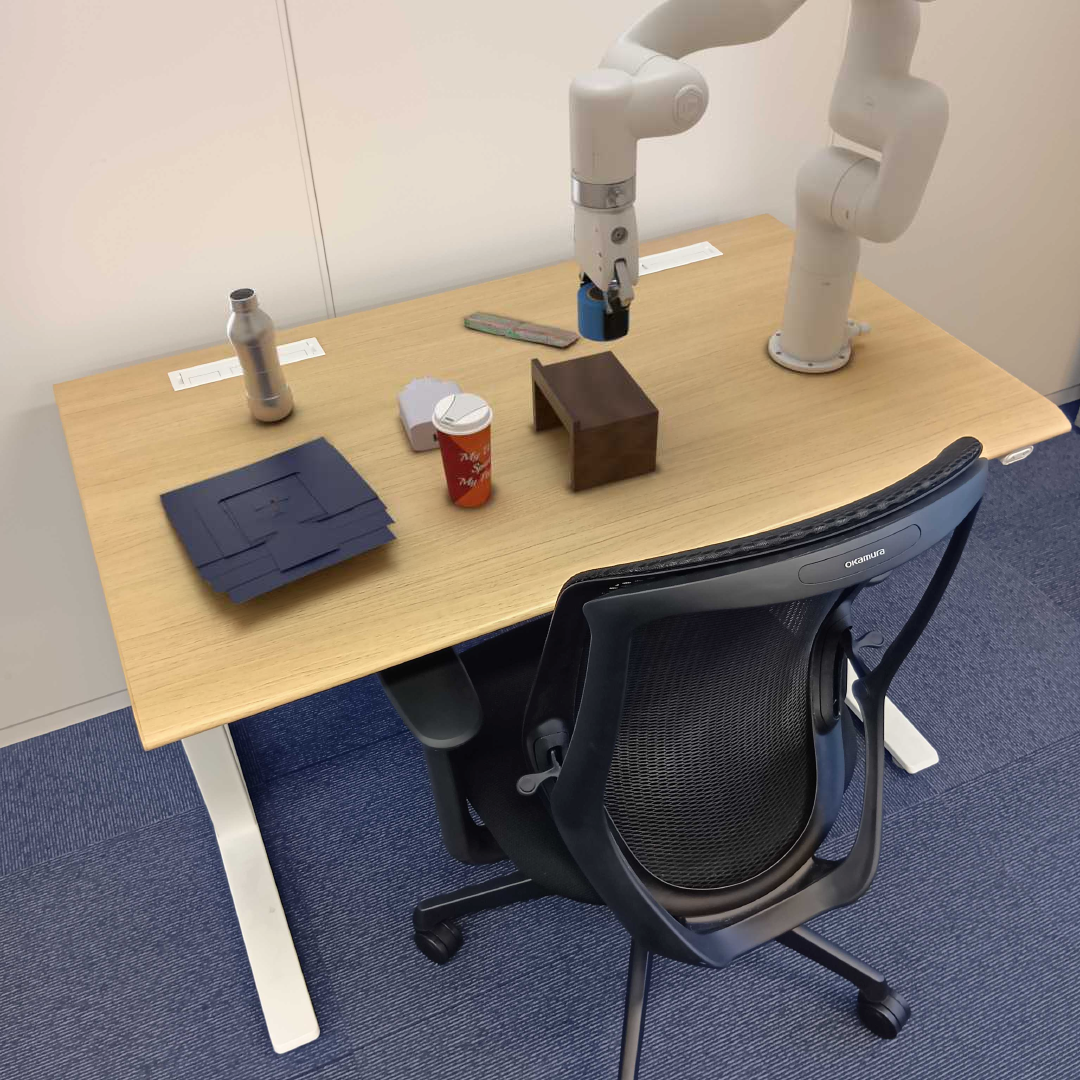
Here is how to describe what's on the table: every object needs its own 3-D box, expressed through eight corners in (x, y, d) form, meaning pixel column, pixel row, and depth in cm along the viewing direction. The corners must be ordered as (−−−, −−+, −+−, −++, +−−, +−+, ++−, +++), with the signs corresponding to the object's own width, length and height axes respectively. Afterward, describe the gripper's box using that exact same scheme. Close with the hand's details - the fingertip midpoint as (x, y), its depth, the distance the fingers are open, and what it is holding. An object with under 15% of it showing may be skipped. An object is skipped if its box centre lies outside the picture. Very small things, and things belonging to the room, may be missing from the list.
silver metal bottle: (305, 412, 147) (276, 292, 134) (267, 433, 144) (234, 311, 130) (279, 396, 151) (249, 277, 137) (242, 416, 147) (207, 296, 134)
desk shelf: (609, 408, 146) (610, 341, 138) (655, 471, 135) (659, 401, 127) (533, 427, 143) (530, 359, 135) (574, 492, 132) (573, 422, 124)
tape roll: (616, 310, 129) (617, 275, 126) (637, 335, 125) (638, 299, 121) (570, 321, 128) (569, 286, 124) (589, 346, 123) (589, 310, 120)
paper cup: (477, 519, 128) (469, 433, 119) (430, 500, 131) (418, 414, 122) (510, 486, 133) (504, 400, 124) (464, 469, 136) (455, 384, 127)
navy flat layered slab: (225, 629, 113) (216, 605, 111) (163, 512, 135) (155, 490, 133) (414, 550, 122) (409, 527, 120) (328, 452, 144) (323, 430, 142)
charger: (450, 384, 152) (476, 439, 141) (392, 396, 150) (413, 453, 139) (447, 358, 149) (473, 412, 138) (387, 370, 147) (409, 425, 136)
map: (472, 314, 168) (471, 309, 168) (581, 333, 161) (581, 328, 160) (457, 328, 165) (457, 323, 164) (568, 348, 157) (568, 343, 157)
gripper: (665, 210, 108) (659, 350, 121) (604, 154, 120) (604, 286, 133) (602, 224, 107) (602, 363, 119) (547, 165, 119) (552, 298, 131)
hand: (603, 321), depth 126 cm, fingers closed on tape roll, 6 cm apart
